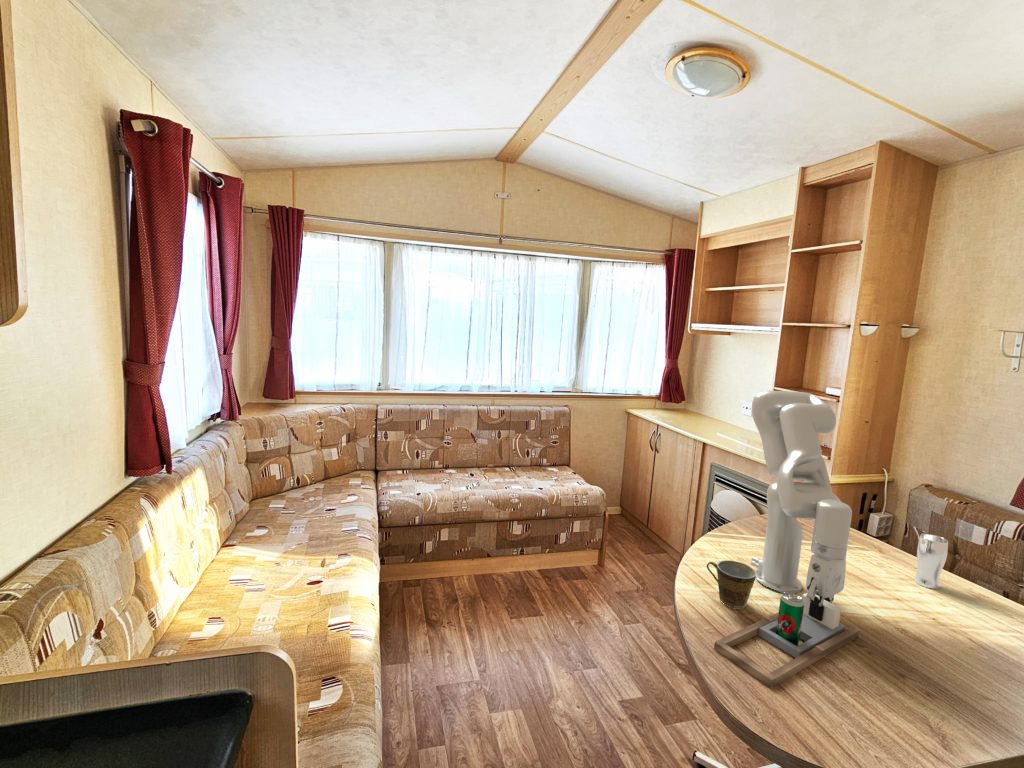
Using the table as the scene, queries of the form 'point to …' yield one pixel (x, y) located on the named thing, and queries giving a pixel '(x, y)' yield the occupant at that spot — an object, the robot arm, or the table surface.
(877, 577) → the table surface
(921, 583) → the beer glass
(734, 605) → the ceramic cup
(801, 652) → the grey board with block
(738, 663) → the track
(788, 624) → the soda can
